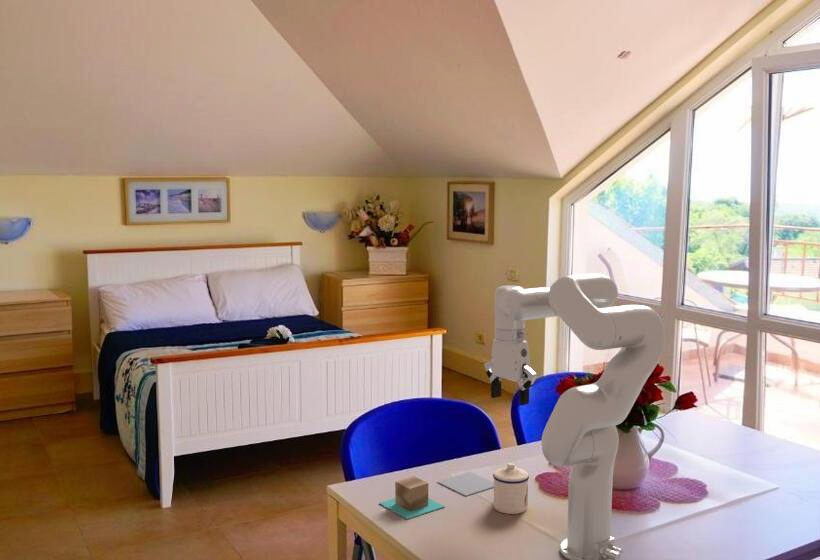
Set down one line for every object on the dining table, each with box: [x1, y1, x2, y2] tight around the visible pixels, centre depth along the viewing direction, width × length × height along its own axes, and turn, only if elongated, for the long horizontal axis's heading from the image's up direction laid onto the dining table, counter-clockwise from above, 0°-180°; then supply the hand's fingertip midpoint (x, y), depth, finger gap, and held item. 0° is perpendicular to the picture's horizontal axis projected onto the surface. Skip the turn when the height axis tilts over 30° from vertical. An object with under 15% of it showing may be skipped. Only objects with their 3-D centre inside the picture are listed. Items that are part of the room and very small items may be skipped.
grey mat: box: [437, 471, 494, 497], centre depth 229 cm, size 12×12×1 cm
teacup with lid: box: [492, 462, 530, 515], centre depth 214 cm, size 12×9×12 cm
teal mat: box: [378, 497, 446, 520], centre depth 215 cm, size 12×12×1 cm
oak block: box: [394, 476, 429, 511], centre depth 214 cm, size 6×6×6 cm
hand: (509, 400), depth 213 cm, fingers open, 9 cm apart
